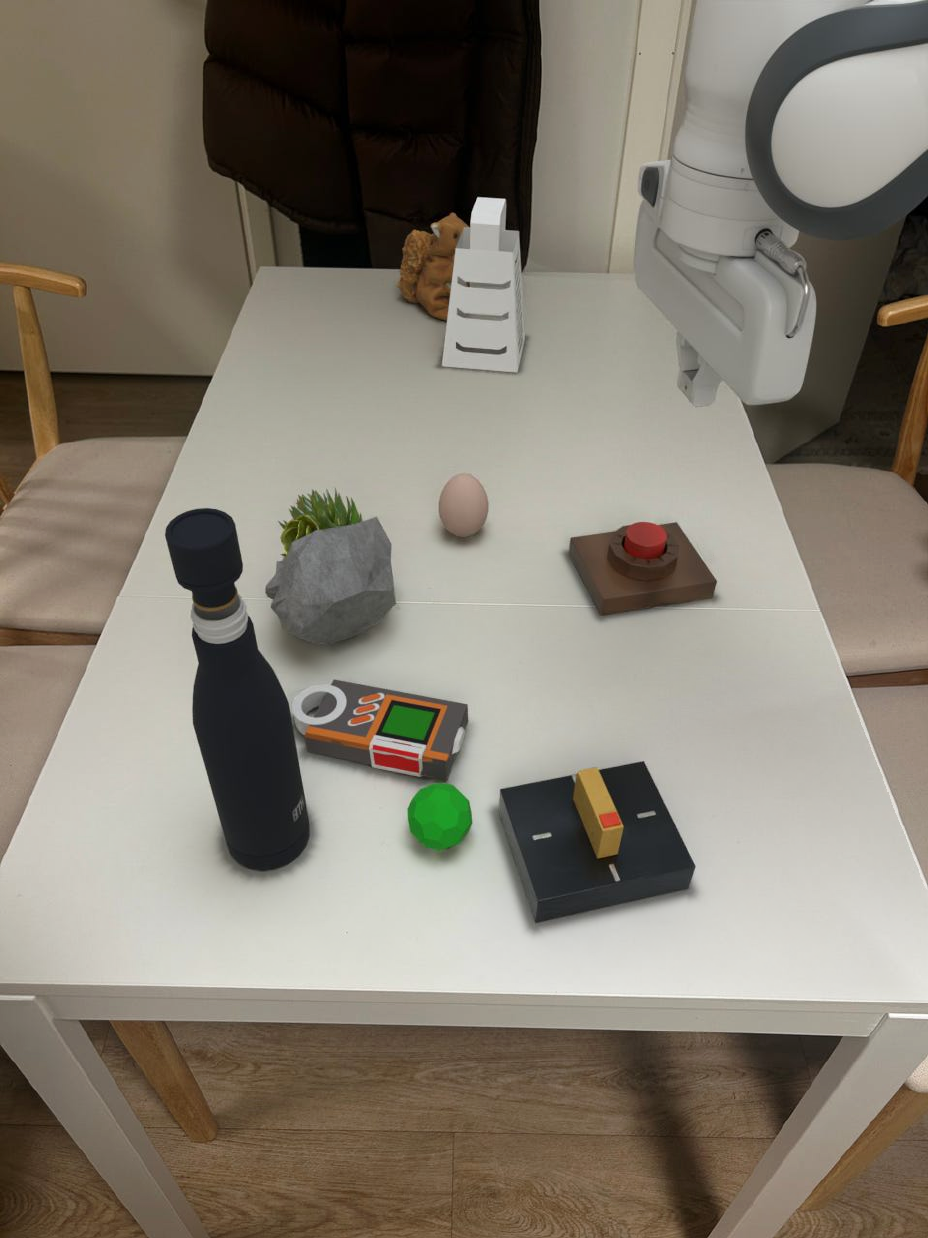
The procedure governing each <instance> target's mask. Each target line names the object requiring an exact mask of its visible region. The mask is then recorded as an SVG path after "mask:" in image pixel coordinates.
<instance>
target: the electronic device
mask: <svg viewBox="0 0 928 1238" xmlns="http://www.w3.org/2000/svg"><path fill="white" fill-rule="evenodd" d="M291 703H292V704H291V712H292V716H293V719H294V723H295V727H296V729H297V731H298V732H299V733H300V734H302V735H303V736H304V741H305V744H306V750H307V752H308V753H313V754H316V755H317V754H318V755H321V756H322V755H323V756H326V757H332V758H335V759H336V758H337V759H341V760H346V761H352V762H356V763H361V764H365V765H371V767H372V768H374V769H377V770H378V769H379V770H383V771H389V772H392V773H398V774H404V775H408V776H414V777H418V778H421V777H423V776H425V777H429V778H433V779H437V780H444V781H447V780H448V778H449V774H450V772H451V770H452V767H453V764H454V761H455V759H456V757H457V754H458V752H460V751H461V748H462V745H463V742H464V739H465V735H466V730H467V726H468V724H469V705H468V703H464V702H458V701H452V700H447V699H441V698H437V697H431V696H427V695H426V696H425V695H419V694H415V693H411V692H410V693H409V692H404V691H399V690H393V689H388V688H383V687H378V686H373V685H372V686H371V685H366V684H361V683H357V682H351V681H345V680H340V679H333V680H332V682H331V683H330V684H328V683H327V684H326V683H324V684H323V683H322V684H320V683H319V684H314V685H311V686H308V687H306V688H304V689H302V690H301V691H299V693H298V694H296V696H295V697H294V698H293V701H292V702H291ZM315 708H317V709H316V711H315V713H314V715H313V716H309V715H307V714H308V713H309V712H310V711H312V710H313V709H315Z"/></svg>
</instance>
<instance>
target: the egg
mask: <svg viewBox="0 0 928 1238" xmlns="http://www.w3.org/2000/svg"><path fill="white" fill-rule="evenodd" d="M488 515H489V498H488V494H487V492H486V490H485V488H484V486H483V484H482V483H481V482H480V480H479V479H478V478H477V477H475V476H474V475H472V474H470V473H465V472H462V473H458V474H455V475H453V476H452V477H451V478H449V479H448V481H447V482H446V483H445V484H444V486H443V488H442V490H441V492H440V495H439V499H438V516H439V519H440V521H441V523H442V525H443V527H444V528H445V529H446V530H447V531H448V533H451V534H452V535H454V536H457V537H461V538H467V537H470V536H473V535H474V534H476V533H477V532H479V531H480V530H481V529H482V528H483V527H484V525H485V524H486V521H487V518H488Z"/></svg>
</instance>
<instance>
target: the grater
mask: <svg viewBox="0 0 928 1238" xmlns="http://www.w3.org/2000/svg"><path fill="white" fill-rule="evenodd" d="M506 219H507V199H506V198H499V197H498V198H496V197H481V196H477V198H476V201H475V203H474V205H473V208H472V211H471V215H470V226H469V227H470V228H468V227H464V229H463V231H462V234H461V236H460V239H459V241H458V244H457V246H456V250H455V259H454V267H453V276H452V284H451V292H450V301H449V309H448V318H447V321H446V328H445V335H444V343H443V352H442V361H441V367H446V368H458V369H459V368H460V369H467V370H468V369H470V370H481V371H495V372H506V373H518V372H519V367H520V362H521V358H522V354H523V348H524V345H525V339H526V332H525V314H524V296H523V294H524V293H523V279H522V278H523V276H522V262H521V260H522V259H521V243H520V231H519V230H512V229H511V230H510V229H506ZM467 282H470V285H472V286H479V287H471V286H470V287H466V285H467ZM482 287H483V288H482ZM484 287H494V288H484ZM495 288H496V289H495ZM497 288H504V289H497ZM467 314H470V315H472V316H481V317H489V318H503V319H502V320H493V319H492V320H491V319H481V318H480V319H479V318H472V317H471V318H470V317H468V316H467ZM457 344H459V345H460V346H461V347H462V348H473V349H483V350H495V351H500V350H502V349H503V348H506V350H505V351H506V352H504V353H501V354H494V353H481V352H471V351H470V352H469V351H462V350H460V349H459V348H457Z"/></svg>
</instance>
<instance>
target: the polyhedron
mask: <svg viewBox="0 0 928 1238" xmlns="http://www.w3.org/2000/svg"><path fill="white" fill-rule="evenodd" d="M470 803H471V802H470V800H469V799H468V798H467V797H466V796H465V795H464V794H463V792H461V791H460V790H459V789H458V788H457V787H456V786H455V785H454V784H449V783H445V782H436V783H431V784H428V785H427V786H424V787H422V788H420V789H419V790H418V791H417V792H416V793H415V795H414V796H412V799H411V801H410V803H409V804H408V807H407V824H408V827H409V833H410V834H411V835H412V836H413V837H414V838H415V839H416V840H417V841H418V842H419V843H420V844H421V845H422V846H424V847H425V848H426V849H431V850H433V851H443V850H447V849H450V848H452V847H455V846H457V845H460V844H461V843H462V841H463V840H464V839H465V837H466V836H467V834H468V833H469V831H470V829H471V827H472V826H473V815H472V814H473V813H472V808H471V804H470Z"/></svg>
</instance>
